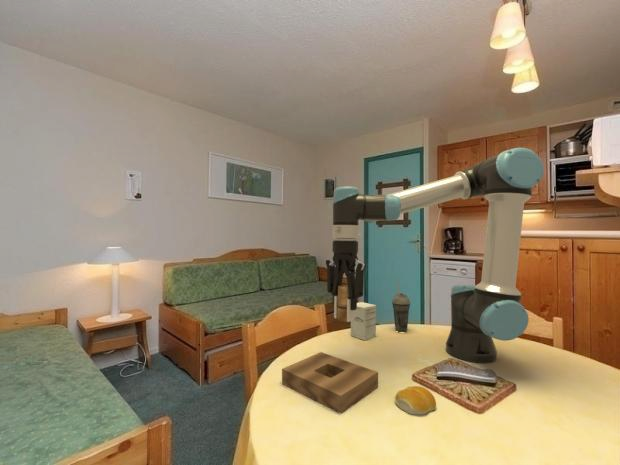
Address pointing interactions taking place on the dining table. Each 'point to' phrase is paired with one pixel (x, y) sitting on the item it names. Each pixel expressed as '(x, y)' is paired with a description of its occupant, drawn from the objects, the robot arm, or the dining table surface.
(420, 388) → the bread roll
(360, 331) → the supplement box
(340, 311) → the dowel
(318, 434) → the dining table surface
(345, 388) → the board
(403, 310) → the beverage cup
